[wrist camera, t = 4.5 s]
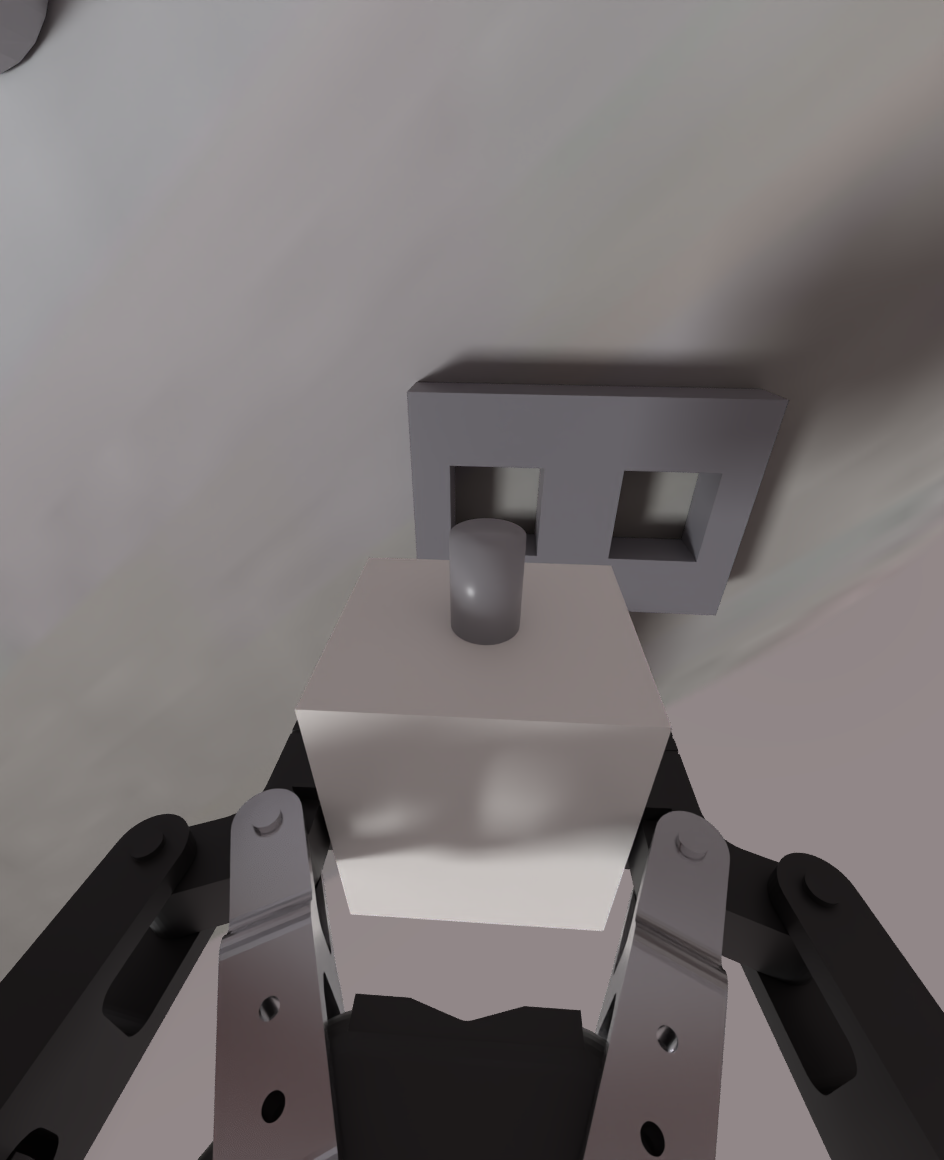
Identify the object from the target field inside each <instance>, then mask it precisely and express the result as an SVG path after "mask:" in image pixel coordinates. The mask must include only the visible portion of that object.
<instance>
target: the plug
mask: <svg viewBox="0 0 944 1160" xmlns="http://www.w3.org/2000/svg"><path fill="white" fill-rule="evenodd" d="M525 550H526V533H525V531H524V530H523V529H522V528H521V527H520V526H518V525H516V524H514V523H512V522H509V521H506V520H501V519H494V518H479V519H471V520H467V521H464V522H461V523H459V524H457V525H455V526H454V527H453V528H452V529H451V530H450V532H449V560H432V559H402V558H373V557H369V558H368V560H367V562H366V564H365V566H364V568H363V570H362V572H361V574H360V576H359V578H358V580H357V582H356V584H355V586H354V588H353V591H352V593H351V595H350V597H349V599H348V601H347V603H346V605H345V607H344V609H343V611H342V613H341V615H340V617H339V619H338V621H337V624H336V626H335V628H334V630H333V632H332V634H331V636H330V638H329V640H328V642H327V644H326V646H325V648H324V650H323V652H322V654H321V656H320V659H319V661H318V663H317V665H316V667H315V669H314V671H313V673H312V675H311V677H310V679H309V681H308V683H307V685H306V687H305V689H304V692H303V694H302V696H301V698H300V700H299V702H298V704H297V706H296V708H295V712H296V716H297V720H298V723H299V727H300V731H301V734H302V738H303V742H304V745H305V749H306V753H307V756H308V760H309V764H310V767H311V771H312V775H313V778H314V782H315V786H316V789H317V793H318V797H319V800H320V804H321V808H322V811H323V815H324V819H325V822H326V826H327V830H328V833H329V837H330V841H331V844H332V848H333V852H334V855H335V859H336V863H337V866H338V870H339V874H340V877H341V881H342V884H343V888H344V892H345V896H346V899H347V903H348V907H349V910H350V914H355V915H356V914H357V915H370V916H385V917H386V916H387V917H401V918H416V919H431V920H445V921H460V922H475V923H490V924H505V925H520V926H536V927H551V928H565V929H566V928H567V929H580V930H595V931H596V930H597V931H603V930H604V928H605V924H606V921H607V919H608V915H609V912H610V910H611V907H612V904H613V901H614V898H615V895H616V892H617V889H618V886H619V883H620V880H621V877H622V874H623V871H624V868H625V865H626V862H627V860H628V857H629V854H630V851H631V848H632V845H633V842H634V839H635V836H636V833H637V830H638V827H639V824H640V821H641V818H642V815H643V812H644V809H645V806H646V803H647V800H648V797H649V794H650V792H651V789H652V786H653V783H654V780H655V777H656V774H657V771H658V768H659V765H660V762H661V759H662V756H663V753H664V750H665V747H666V744H667V741H668V738H669V735H670V732H671V729H672V726H671V723H670V721H669V718H668V716H667V713H666V710H665V707H664V705H663V702H662V699H661V697H660V694H659V691H658V689H657V686H656V684H655V681H654V678H653V676H652V673H651V670H650V668H649V665H648V662H647V660H646V657H645V654H644V652H643V649H642V646H641V644H640V641H639V638H638V636H637V633H636V630H635V628H634V625H633V622H632V620H631V617H630V614H629V612H628V609H627V606H626V604H625V601H624V599H623V596H622V593H621V591H620V588H619V585H618V583H617V580H616V577H615V575H614V572H613V569H612V567H611V566H610V565H580V564H550V563H525Z"/></svg>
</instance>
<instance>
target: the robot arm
mask: <svg viewBox="0 0 944 1160" xmlns="http://www.w3.org/2000/svg"><path fill="white" fill-rule="evenodd" d="M47 5H48V0H0V74H1V73H3V72H4V71H6V70H8V69H9V68H11V67H13V66H14V65H16V64H18V63H19V62H20V61H21V60H22V59H23V58H24V56H25V55H26V54H27V53H28V51H29V50H30V49H31V48H32V46H33V45H34V44H35V42H36V40H37V37H38V35H39V32H40V30H41V27H42V24H43V22H44V19H45V17H46V12H47ZM672 736H673V735H672V733H671V732H670V735H669V738H668V741H667V744H666V747H665V750H664V753H663V756H662V759H661V762H660V765H659V768H658V771H657V774H656V777H655V780H654V783H653V786H652V789H651V792H650V794H649V797H648V800H647V803H646V806H645V809H644V812H643V815H642V818H641V821H640V824H639V827H638V830H637V833H636V836H635V839H634V842H633V845H632V848H631V851H630V854H629V857H628V860H627V862H626V865H625V868H624V869H630V871H631V876H632V880H633V885H634V887H633V890H632V893H631V896H630V900H629V905H628V909H627V913H626V917H625V921H624V925H623V929H622V933H621V937H620V941H619V945H618V949H617V954H616V957H615V962H614V966H613V970H612V974H611V978H610V982H609V985H608V989H607V992H606V995H605V998H604V1002H603V1005H602V1009H601V1012H600V1016H599V1020H598V1024H597V1028H596V1032H595V1033H593V1032H592V1031H590V1030H587V1029H585V1028H583V1027H582V1019H581V1011H580V1010H567V1009H555V1008H541V1007H527V1006H524V1007H520V1008H517V1009H513V1010H509V1011H505V1012H502V1013H498V1014H494V1015H491V1016H487V1017H483V1018H480V1019H476V1020H472V1021H463V1020H460V1019H457V1018H455V1017H453V1016H451V1015H448V1014H446V1013H444V1012H441V1011H439V1010H437V1009H435V1008H432V1007H430V1006H428V1005H425V1004H423V1003H420V1002H418V1001H416V1000H414V999H412V998H406V997H393V996H379V995H366V994H356V995H355V999H354V1004H353V1009H352V1010H351V1011H348V1012H345V1011H344V1005H343V998H342V993H341V987H340V982H339V978H338V973H337V968H336V963H335V957H334V950H333V943H332V936H331V929H330V922H329V915H328V907H327V900H326V894H325V886H324V879H323V873H322V869H323V865H324V862H325V859H326V856H327V852H328V850H333V848H332V844H331V841H330V837H329V833H328V830H327V826H326V822H325V819H324V815H323V811H322V808H321V804H320V800H319V797H318V793H317V789H316V786H315V782H314V778H313V775H312V771H311V767H310V764H309V760H308V756H307V753H306V749H305V745H304V742H303V738H302V734H301V731H300V727H299V723H298V720H297V721H296V723H295V726H294V728H293V730H292V734H290V736H289V738H288V741H287V743H286V745H285V747H284V749H283V751H282V753H281V755H280V758H279V760H278V762H277V764H276V766H275V768H274V770H273V773H272V775H271V777H270V779H269V781H268V783H267V785H266V787H265V789H264V790H263V792H261V793H259V794H257V795H255V796H253V797H252V798H251V799H249V800H248V801H247V802H246V803H245V804H244V805H243V806H242V807H241V808H240V809H239V810H238V812H237V813H236V814H233V815H231V816H228V817H225V818H221V819H217V820H214V821H210V822H206V823H202V824H198V825H194V826H190V827H189V826H188V825H187V823H186V821H185V820H184V819H183V818H181V817H180V816H177V815H174V814H162V815H157V816H154V817H151V818H148V819H146V820H144V821H142V822H140V823H139V824H137V825H136V826H134V827H133V828H131V829H130V830H129V831H128V832H127V833H126V834H124V835H123V837H122V838H121V839H120V840H119V841H118V842H117V843H116V845H115V846H114V847H113V848H112V849H111V851H110V852H109V853H108V854H107V855H106V857H105V858H104V859H103V860H102V861H101V863H100V864H99V865H98V866H97V867H96V869H95V870H94V871H93V872H92V873H91V875H90V876H89V877H88V878H87V879H86V881H85V882H84V883H83V884H82V885H81V887H80V888H79V889H78V890H77V891H76V893H75V894H74V895H73V896H72V897H71V899H70V900H69V901H68V902H67V903H66V905H65V906H64V907H63V908H62V909H61V911H60V912H59V913H58V914H57V915H56V917H55V918H54V919H53V920H52V921H51V923H50V924H49V925H48V926H47V927H46V929H45V930H44V931H43V932H42V933H41V935H40V936H39V937H38V938H37V939H36V941H35V942H34V943H33V944H32V945H31V947H30V948H29V949H28V950H27V951H26V953H25V954H24V955H23V956H22V957H21V959H20V960H19V961H18V962H17V963H16V965H15V966H14V967H13V968H12V969H11V971H10V972H9V973H8V974H7V975H6V977H5V978H4V979H3V980H2V981H1V983H0V1160H84V1158H85V1156H86V1154H87V1153H88V1151H89V1149H90V1147H91V1145H92V1144H93V1142H94V1140H95V1139H96V1137H97V1135H98V1133H99V1132H100V1130H101V1128H102V1126H103V1124H104V1123H105V1121H106V1119H107V1117H108V1116H109V1114H110V1112H111V1111H112V1109H113V1107H114V1105H115V1103H116V1102H117V1100H118V1098H119V1097H120V1094H121V1093H122V1091H123V1089H124V1088H125V1086H126V1084H127V1082H128V1081H129V1079H130V1077H131V1075H132V1074H133V1072H134V1070H135V1068H136V1067H137V1065H138V1063H139V1061H140V1060H141V1058H142V1056H143V1054H144V1053H145V1051H146V1049H147V1047H148V1046H149V1044H150V1042H151V1040H152V1039H153V1037H154V1035H155V1033H156V1032H157V1030H158V1028H159V1026H160V1025H161V1023H162V1021H163V1019H164V1018H165V1015H166V1014H167V1012H168V1011H169V1009H170V1007H171V1005H172V1004H173V1002H174V1000H175V998H176V996H177V995H178V993H179V991H180V989H181V988H182V986H183V984H184V983H185V981H186V979H187V977H188V976H189V974H190V972H191V970H192V969H193V967H194V965H195V963H196V962H197V960H198V958H199V956H200V955H201V953H202V951H203V949H204V948H205V946H206V944H207V942H208V941H209V939H210V937H211V935H212V934H213V932H214V930H215V928H216V927H217V926H220V925H223V924H227V923H229V930H228V933H227V935H224V936H223V938H222V940H221V944H220V950H219V966H218V1000H217V1035H216V1068H215V1100H214V1135H213V1142H212V1143H211V1144H210V1145H209V1147H208V1148H207V1149H206V1150H205V1152H204V1153H203V1154H202V1155H201V1156H200V1157H199V1159H198V1160H715V1157H716V1143H717V1129H718V1117H719V1103H720V1090H721V1089H720V1088H721V1076H722V1064H723V1050H724V1036H725V1023H726V1010H727V997H728V996H727V995H728V980H727V974H726V971H725V970H724V969H723V968H722V964H721V956H724V957H727V958H729V959H731V960H734V961H736V962H738V963H740V964H741V966H742V968H743V970H744V972H745V975H746V977H747V979H748V981H749V983H750V985H751V987H752V990H753V992H754V994H755V996H756V998H757V1001H758V1003H759V1005H760V1007H761V1009H762V1011H763V1013H764V1016H765V1018H766V1020H767V1022H768V1024H769V1026H770V1028H771V1031H772V1033H773V1035H774V1037H775V1039H776V1041H777V1044H778V1046H779V1047H780V1050H781V1052H782V1054H783V1056H784V1059H785V1061H786V1063H787V1065H788V1067H789V1069H790V1072H791V1074H792V1076H793V1078H794V1080H795V1082H796V1085H797V1087H798V1089H799V1091H800V1093H801V1095H802V1097H803V1100H804V1102H805V1104H806V1106H807V1108H808V1110H809V1112H810V1115H811V1117H812V1119H813V1121H814V1123H815V1125H816V1127H817V1130H818V1132H819V1134H820V1136H821V1138H822V1140H823V1143H824V1145H825V1147H826V1149H827V1151H828V1154H829V1156H830V1158H831V1160H944V1012H943V1011H942V1010H941V1008H940V1007H939V1005H938V1004H937V1003H936V1001H935V1000H934V998H933V997H932V996H931V994H930V993H929V991H928V990H927V989H926V987H925V986H924V984H923V983H922V982H921V980H920V979H919V978H918V976H917V975H916V973H915V972H914V970H913V969H912V967H911V966H910V965H909V963H908V962H907V960H906V959H905V958H904V956H903V955H902V953H901V952H900V951H899V949H898V948H897V947H896V945H895V943H894V942H893V941H892V939H891V938H890V936H889V935H888V934H887V932H886V931H885V929H884V928H883V927H882V925H881V924H880V922H879V921H878V920H877V918H876V917H875V915H874V914H873V913H872V911H871V910H870V908H869V907H868V905H867V904H866V903H865V901H864V900H863V898H862V897H861V896H860V894H859V893H858V892H857V890H856V889H855V887H854V886H853V885H852V883H851V882H850V881H849V880H848V879H847V878H846V877H845V876H844V875H843V874H842V873H841V872H840V871H839V870H838V869H836V868H835V867H834V866H832V865H831V864H829V863H828V862H826V861H824V860H822V859H820V858H818V857H816V856H813V855H809V854H805V853H791V854H788V855H786V856H784V857H783V858H782V859H781V860H780V862H776V861H773V860H770V859H767V858H765V857H762V856H759V855H756V854H754V853H751V852H748V851H746V850H743V849H740V848H738V847H736V846H734V845H733V844H731V843H729V842H727V841H726V840H725V839H724V838H723V837H722V835H721V834H720V832H719V831H718V830H717V829H716V828H715V827H714V826H713V825H712V824H710V823H709V822H708V821H707V820H705V818H704V817H703V815H702V813H701V811H700V808H699V806H698V803H697V800H696V797H695V795H694V792H693V789H692V787H691V784H690V781H689V778H688V776H687V773H686V770H685V768H684V765H683V762H682V760H681V757H680V755H679V754H678V749H677V746H676V743H675V741H674V739H673V738H672Z"/></svg>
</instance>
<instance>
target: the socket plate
mask: <svg viewBox="0 0 944 1160" xmlns="http://www.w3.org/2000/svg"><path fill="white" fill-rule="evenodd" d="M407 401H408V417H409V434H410V451H411V467H412V484H413V501H414V518H415V534H416V551H417V559H432V560H449V532H450V530H451V529H452V528H453V527H454V526H455V525H456V519H455V466H480V467H515V468H540V476H539V488H538V500H537V511H536V523H535V534H526V550H525V563H550V564H580V565H610V566H611V567H612V569H613V572H614V575H615V577H616V580H617V583H618V585H619V588H620V591H621V593H622V596H623V599H624V601H625V604H626V606H627V609H628V612H651V613H675V614H698V615H716V613H717V610H718V607H719V604H720V601H721V598H722V595H723V593H724V590H725V587H726V584H727V581H728V578H729V575H730V572H731V569H732V566H733V563H734V560H735V557H736V554H737V551H738V548H739V546H740V543H741V540H742V537H743V534H744V531H745V528H746V525H747V522H748V519H749V516H750V513H751V510H752V507H753V504H754V501H755V499H756V496H757V493H758V490H759V487H760V484H761V481H762V478H763V475H764V472H765V469H766V466H767V463H768V460H769V457H770V454H771V452H772V449H773V446H774V443H775V440H776V437H777V434H778V431H779V428H780V425H781V422H782V419H783V416H784V413H785V410H786V407H787V405H788V402H789V400H788V399H785V398H783V397H780V396H778V395H775V394H773V393H770V392H768V391H765V390H763V389H737V388H686V387H636V386H586V385H536V384H486V383H435V382H416V383H415V384H414V385H413V386H412V387H411V388H410V389H409V390H408V392H407ZM624 471H655V472H690V473H699V475H698V479H697V483H696V486H695V490H694V494H693V498H692V501H691V505H690V509H689V513H688V516H687V520H686V524H685V528H684V531H683V535H682V539H681V540H680V539H652V538H623V537H612V535H613V529H614V524H615V518H616V513H617V507H618V501H619V496H620V490H621V485H622V479H623V474H624Z"/></svg>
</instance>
